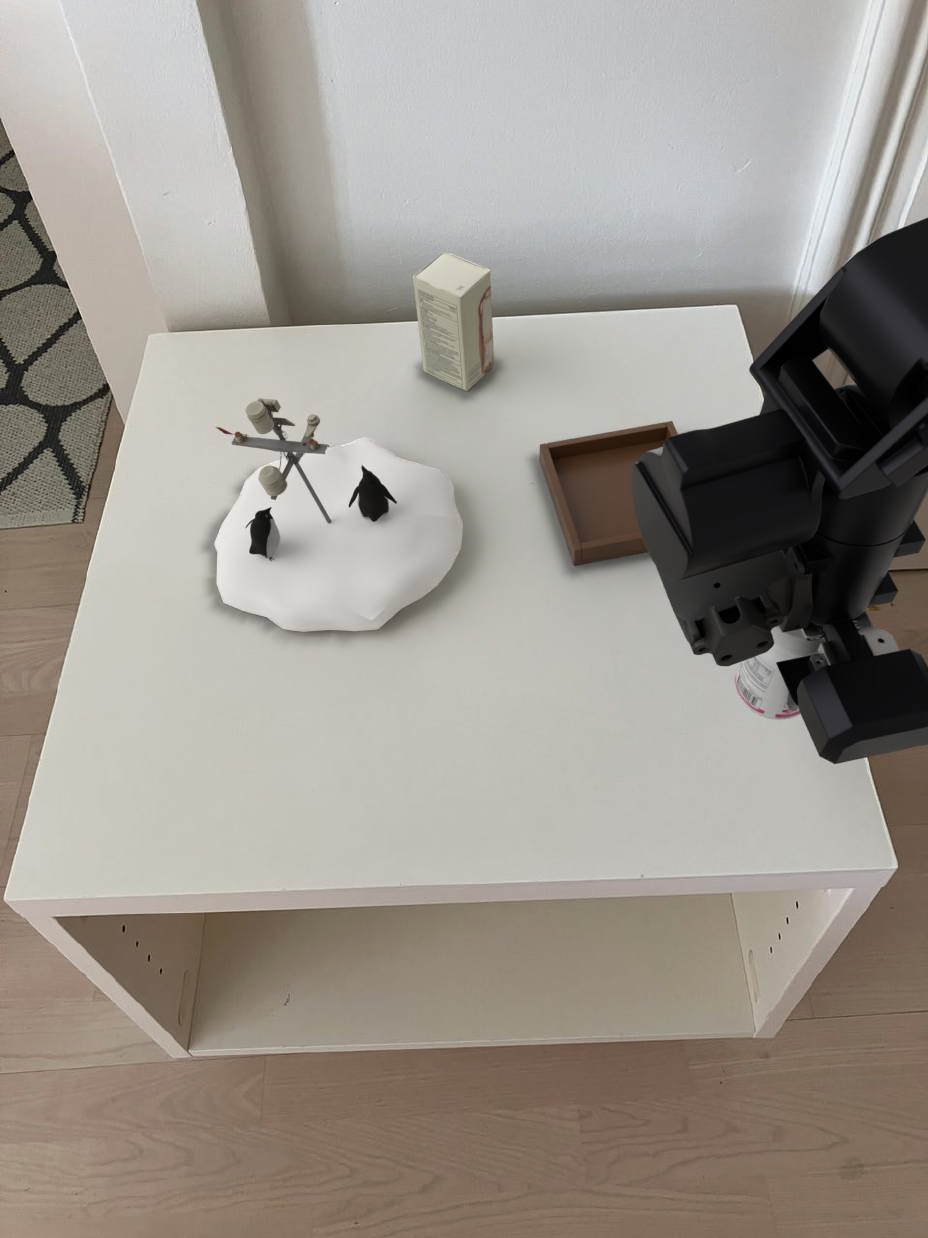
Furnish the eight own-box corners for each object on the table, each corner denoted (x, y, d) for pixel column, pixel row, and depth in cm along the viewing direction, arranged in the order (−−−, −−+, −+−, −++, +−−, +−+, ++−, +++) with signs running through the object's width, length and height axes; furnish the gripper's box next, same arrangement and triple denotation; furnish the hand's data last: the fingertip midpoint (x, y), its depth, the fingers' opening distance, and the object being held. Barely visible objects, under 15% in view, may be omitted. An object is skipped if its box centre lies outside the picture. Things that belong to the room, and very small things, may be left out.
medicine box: (496, 364, 91) (494, 270, 83) (466, 393, 89) (461, 299, 81) (450, 342, 93) (443, 247, 84) (420, 370, 91) (410, 276, 83)
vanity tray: (669, 436, 85) (672, 420, 84) (713, 539, 79) (717, 524, 78) (539, 459, 84) (539, 443, 83) (573, 565, 78) (574, 550, 77)
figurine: (465, 442, 84) (432, 282, 71) (464, 629, 74) (424, 485, 61) (233, 464, 87) (158, 314, 73) (202, 647, 77) (108, 513, 63)
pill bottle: (816, 662, 63) (854, 583, 56) (809, 729, 60) (848, 655, 53) (738, 647, 64) (765, 566, 57) (728, 712, 61) (755, 637, 54)
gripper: (627, 390, 52) (605, 571, 65) (758, 704, 42) (701, 844, 55) (834, 352, 53) (772, 539, 66) (1013, 651, 43) (897, 802, 56)
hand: (780, 669), depth 60 cm, fingers closed on pill bottle, 5 cm apart
